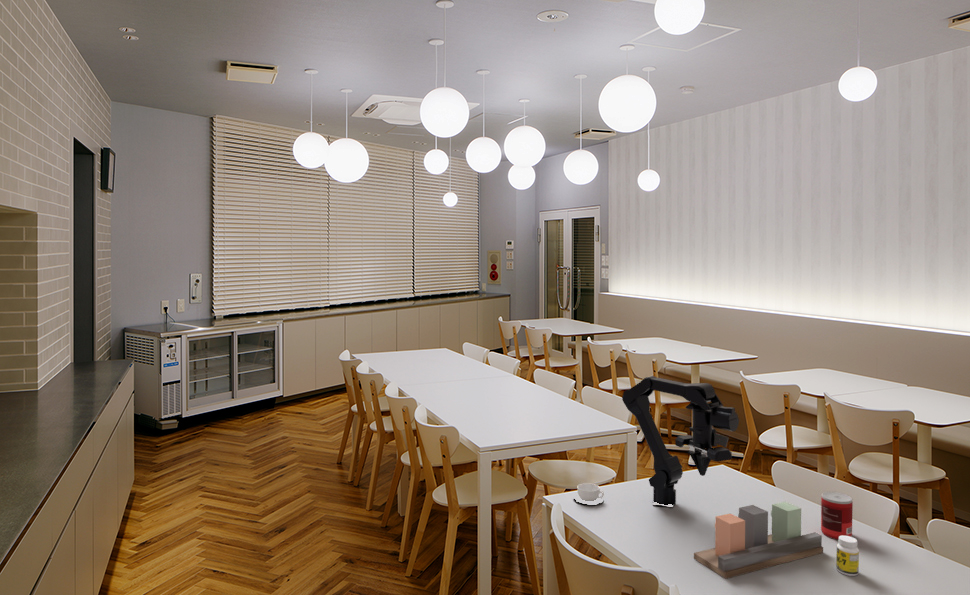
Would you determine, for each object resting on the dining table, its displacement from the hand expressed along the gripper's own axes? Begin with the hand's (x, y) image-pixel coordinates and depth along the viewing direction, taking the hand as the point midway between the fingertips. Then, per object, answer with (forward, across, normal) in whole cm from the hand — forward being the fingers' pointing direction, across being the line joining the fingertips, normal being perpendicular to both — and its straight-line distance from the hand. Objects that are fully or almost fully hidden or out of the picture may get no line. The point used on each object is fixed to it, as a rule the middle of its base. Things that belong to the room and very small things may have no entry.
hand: (702, 475), depth 178 cm
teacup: (+13, +24, +26) cm, 38 cm away
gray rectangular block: (+12, -23, +3) cm, 26 cm away
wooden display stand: (+13, -25, +3) cm, 29 cm away
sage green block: (+12, -25, -7) cm, 28 cm away
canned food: (+14, -24, -27) cm, 38 cm away
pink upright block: (+11, -25, +13) cm, 31 cm away
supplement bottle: (+14, -40, -10) cm, 43 cm away
